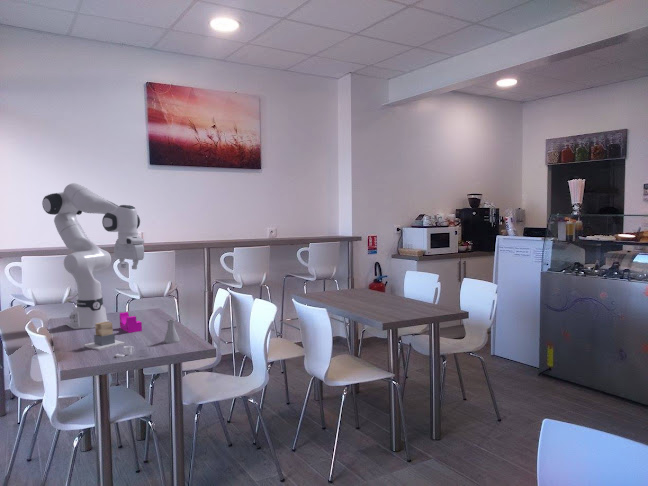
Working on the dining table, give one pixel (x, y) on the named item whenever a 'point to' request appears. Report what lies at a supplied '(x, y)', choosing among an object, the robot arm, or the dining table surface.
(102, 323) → the beech block
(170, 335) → the flask
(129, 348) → the teacup and saucer
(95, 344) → the white platform base
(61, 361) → the dining table surface
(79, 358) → the dining table surface
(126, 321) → the toy block
